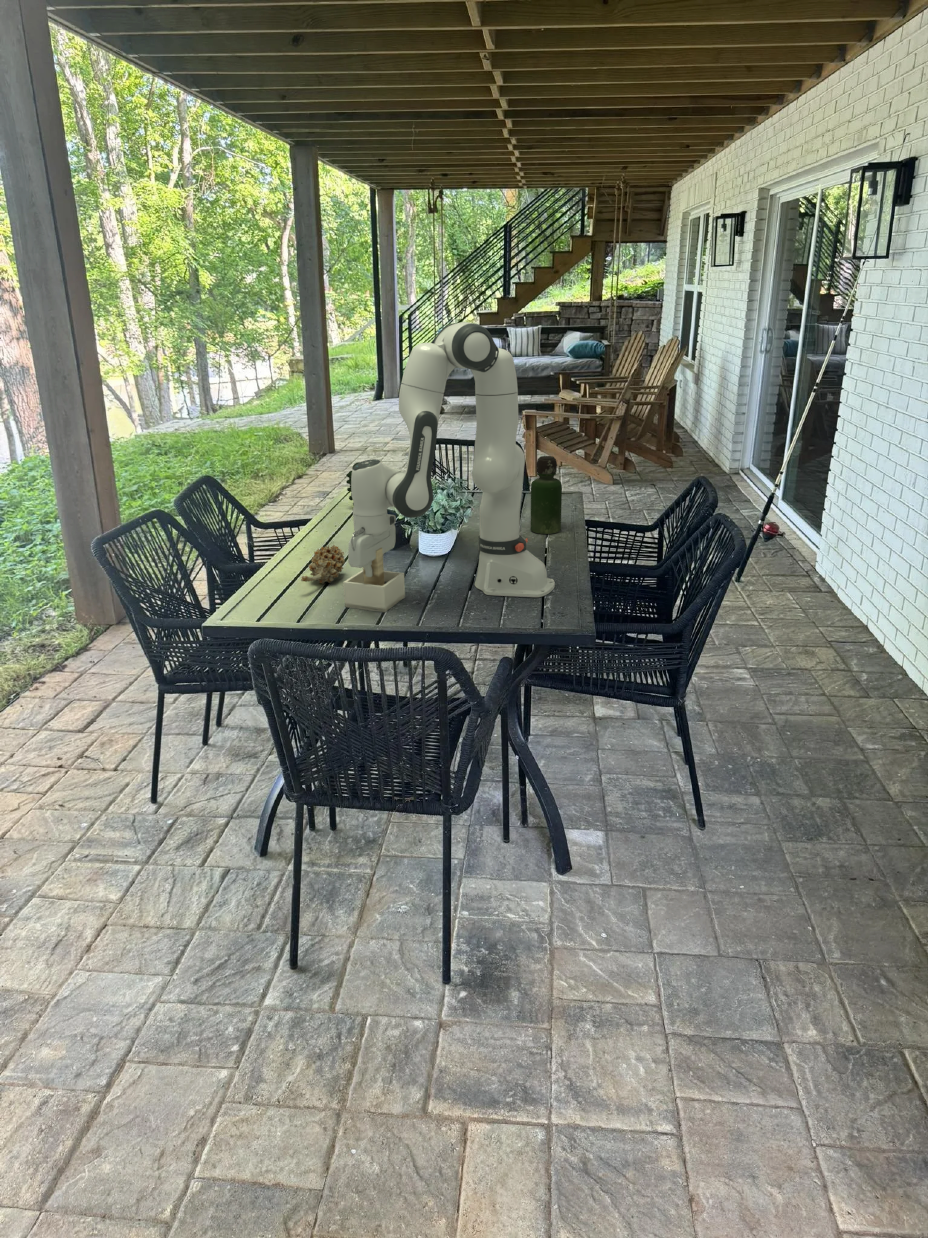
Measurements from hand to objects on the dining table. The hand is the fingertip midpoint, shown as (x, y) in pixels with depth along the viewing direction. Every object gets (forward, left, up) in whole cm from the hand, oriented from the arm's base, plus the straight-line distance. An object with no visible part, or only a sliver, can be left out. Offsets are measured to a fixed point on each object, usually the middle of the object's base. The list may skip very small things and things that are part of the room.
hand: (373, 573), depth 229 cm
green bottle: (-23, -81, -8) cm, 85 cm away
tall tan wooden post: (0, 0, -6) cm, 6 cm away
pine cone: (+21, -8, -8) cm, 24 cm away
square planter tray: (0, 0, -8) cm, 8 cm away
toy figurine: (+51, -95, -8) cm, 108 cm away
